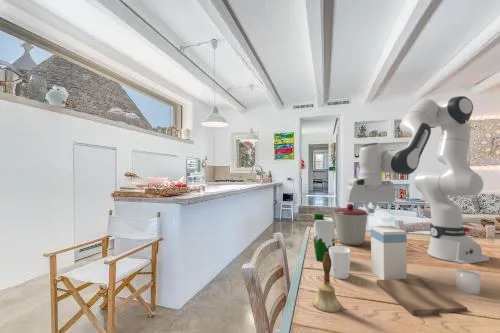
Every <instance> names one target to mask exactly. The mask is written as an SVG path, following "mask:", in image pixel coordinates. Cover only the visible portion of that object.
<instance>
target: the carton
mask: <svg viewBox="0 0 500 333" xmlns="http://www.w3.org/2000/svg"><path fill="white" fill-rule="evenodd" d="M370 251H371V252H370V254H371V255H370V257H371V258H370V260H371V261H370V262H371V263H370V264H371V267H370V268H371V273H373V275H375V276H376V277H378V278H379V280H388V279H408V276H407V275H408V274H407V272H408V271H407V270H408V269H407V268H408V267H407V262H408V261H407V231H406V230H405V229H401V228H398V227H396V226H393V225H370Z"/></svg>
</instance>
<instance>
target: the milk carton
mask: <svg viewBox="0 0 500 333" xmlns="http://www.w3.org/2000/svg"><path fill="white" fill-rule="evenodd" d="M313 218H314V219H313V247H314V254H315V257H316V261H319V262H323V257H324V254H325V252H329V247H331V246H336V244H335V243H336V237H335V236H336V234H335V233H336V228H335V220H333V219H334V218H332V217H326V216H325V217H324V213H314V217H313Z"/></svg>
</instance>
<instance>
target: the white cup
mask: <svg viewBox="0 0 500 333" xmlns="http://www.w3.org/2000/svg"><path fill="white" fill-rule="evenodd" d="M329 254H330V258H331V270H330V275H331V276H332V277H333V278H336V279H339V280H341V279H344V280H345V279H348V278H349V277H350V268H351V249H350V248H349V247H345V246H342V245H341V246H340V245H335V246H331V247H329Z"/></svg>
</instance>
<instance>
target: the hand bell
mask: <svg viewBox="0 0 500 333" xmlns="http://www.w3.org/2000/svg"><path fill="white" fill-rule="evenodd" d="M322 268H323V273H324V274H323V283H321V284H320V285H319V286H318V293H317V294H316V297H314V299H313V300H312V304H313V306H314V307H315V308H316V309H317V310H320V311H322V312H326V313H335V312H336V313H337V312H339V311H340V310H341V309H342V304H341V302H340V301H339V300H338V298H337V296H336V290H335V287H334V286H333V285H332V284H330V280H331V279H330V275H331V273H330V270H331V258H330V254H329V252H325V254H324V257H323V261H322Z"/></svg>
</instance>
